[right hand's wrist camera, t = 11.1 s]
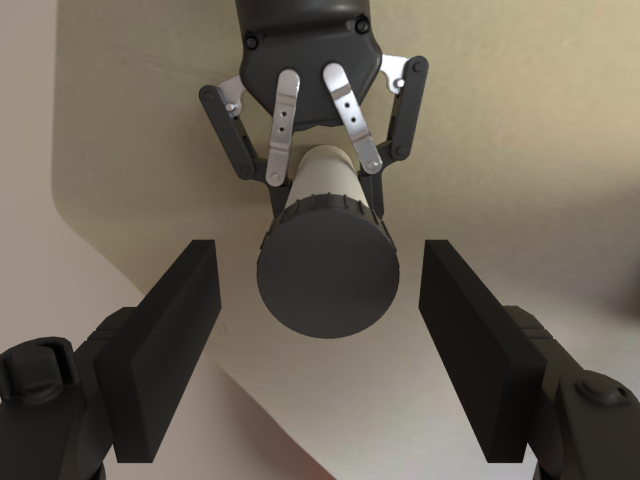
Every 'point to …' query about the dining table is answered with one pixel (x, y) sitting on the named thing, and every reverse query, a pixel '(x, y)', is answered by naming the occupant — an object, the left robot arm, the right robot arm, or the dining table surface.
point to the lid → (327, 267)
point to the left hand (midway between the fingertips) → (331, 229)
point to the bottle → (325, 175)
